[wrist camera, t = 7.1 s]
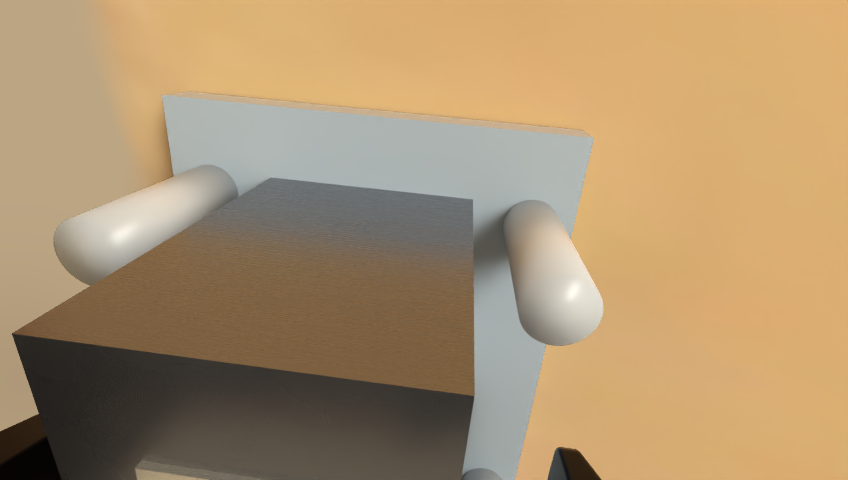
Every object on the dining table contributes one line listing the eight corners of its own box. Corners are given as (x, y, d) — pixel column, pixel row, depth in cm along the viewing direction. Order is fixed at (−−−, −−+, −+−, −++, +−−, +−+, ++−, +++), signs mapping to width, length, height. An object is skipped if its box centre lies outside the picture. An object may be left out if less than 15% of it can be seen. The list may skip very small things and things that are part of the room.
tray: (500, 503, 14) (512, 682, 10) (234, 463, 15) (143, 618, 11) (582, 129, 10) (664, 185, 6) (189, 91, 10) (-1, 115, 6)
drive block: (435, 489, 13) (407, 815, 7) (286, 467, 13) (152, 766, 8) (473, 199, 10) (474, 404, 4) (270, 177, 10) (1, 338, 4)
